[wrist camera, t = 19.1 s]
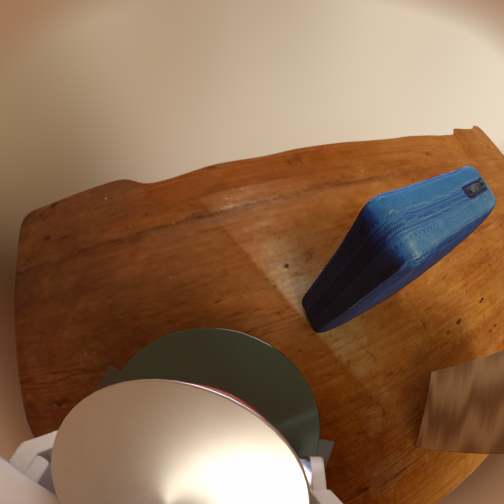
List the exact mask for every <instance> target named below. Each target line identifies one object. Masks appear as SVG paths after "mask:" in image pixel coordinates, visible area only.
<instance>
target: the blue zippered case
mask: <svg viewBox="0 0 504 504" xmlns="http://www.w3.org/2000/svg"><path fill="white" fill-rule="evenodd" d="M495 205H496V199H495V197H494V194H493V193H492V191H491V189H490V188H489V186H488V185H487V183H486V182H485V181H484V179H483V178H482V177H481V175H480V173H479V172H478V171H477V169H475V168H474V167H470V166H466V167H463V168H460V169H457V170H454V171H452V172H449V173H445V174H442V175H439V176H436V177H433V178H430V179H427V180H424V181H420V182H417V183H414V184H411V185H408V186H405V187H403V188H400V189H396V190H393V191H388V192H384V193H381V194H379V195H377V196H375V197H374V198H372V199H370V200H369V201H368V202H367V203H366V205H365V206H364V207H363V209H362V210H361V212H360V213H359V215H358V217H357V219H356V220H355V222H354V224H353V226H352V228H351V229H350V231H349V232H348V234H347V235H346V237H345V239H344V240H343V242H342V243H341V245H340V247H339V248H338V250H337V251H336V252H335V254H334V255H333V256H332V258H331V260H330V261H329V263H328V264H327V265H326V267H325V268H324V269H323V271H322V272H321V274H320V275H319V276H318V278H317V279H316V281H315V282H314V283H313V285H312V286H311V287H310V289H309V290H308V291H307V292H306V294H305V296H304V297H303V299H302V306H303V308H304V310H305V312H306V314H307V317H308V319H309V321H310V323H311V324H312V326H313V329H314V331H315V332H316V333H322V332H326V331H328V330H331V329H333V328H336V327H338V326H340V325H342V324H344V323H346V322H348V321H349V320H351V319H353V318H355V317H357V316H358V315H360V314H362V313H363V312H365V311H367V310H369V309H371V308H372V307H374V306H376V305H377V304H379V303H381V302H382V301H384V300H385V299H387V298H389V297H390V296H392V295H393V294H395V293H396V292H398V291H399V290H401V289H402V288H404V287H405V286H406V285H408V284H409V283H411V282H412V281H413V280H415V279H416V278H418V277H419V276H420V275H422V274H423V273H424V272H425V271H427V270H428V269H429V268H430V267H432V266H433V265H434V264H436V263H437V262H438V261H440V260H441V259H442V258H443V257H444V256H446V255H447V254H448V253H449V252H451V251H452V250H453V249H454V248H455V247H456V246H457V245H458V244H460V243H461V242H462V241H463V240H464V239H466V238H467V237H468V236H469V235H470V234H471V233H472V232H473V231H474V230H475V229H476V228H477V227H478V226H479V225H480V224H481V223H482V222H483V221H484V220H485V219H486V218H487V217H488V216H489V215H490V213H491V211H492V210H493V208H494V207H495Z"/></svg>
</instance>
